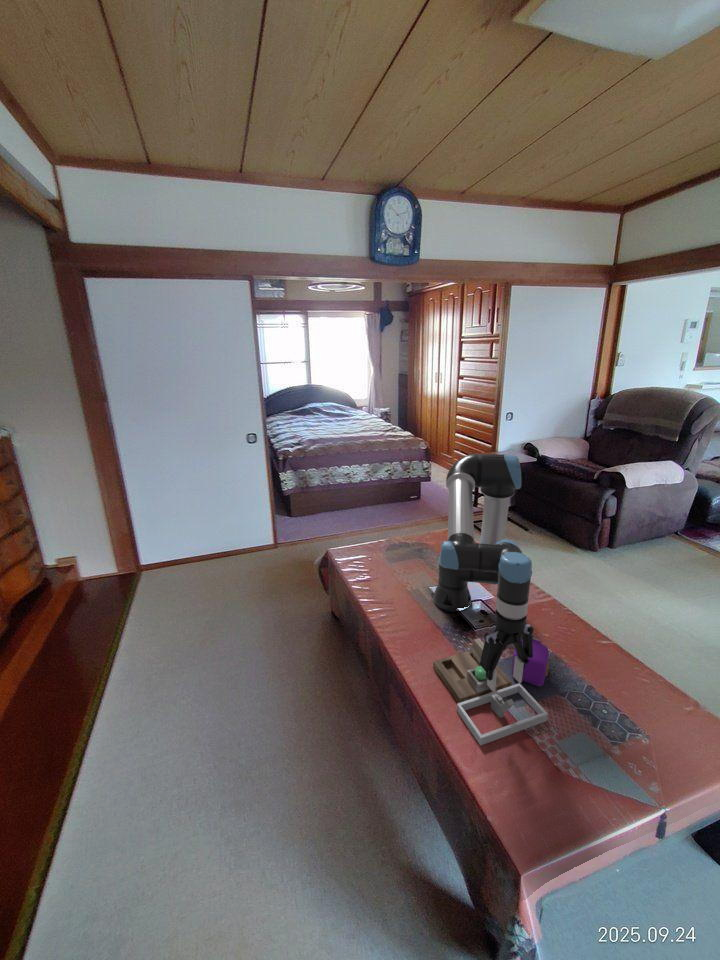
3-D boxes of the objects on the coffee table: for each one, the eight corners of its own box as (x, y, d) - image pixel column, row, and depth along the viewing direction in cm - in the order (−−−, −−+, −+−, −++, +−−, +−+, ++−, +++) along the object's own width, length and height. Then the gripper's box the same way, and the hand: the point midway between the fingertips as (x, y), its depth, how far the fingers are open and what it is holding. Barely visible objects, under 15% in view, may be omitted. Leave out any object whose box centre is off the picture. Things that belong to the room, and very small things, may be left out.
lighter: (490, 707, 118) (492, 685, 115) (494, 705, 118) (496, 683, 116) (507, 726, 111) (509, 704, 109) (512, 724, 112) (514, 701, 110)
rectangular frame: (518, 689, 123) (519, 683, 123) (547, 720, 113) (548, 713, 112) (456, 710, 117) (456, 703, 116) (480, 745, 106) (480, 738, 106)
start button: (482, 674, 125) (483, 664, 124) (489, 682, 122) (490, 673, 121) (472, 677, 124) (472, 667, 123) (479, 686, 121) (479, 676, 120)
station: (480, 653, 138) (481, 632, 136) (511, 688, 124) (513, 665, 121) (433, 667, 133) (433, 645, 130) (459, 705, 118) (461, 682, 116)
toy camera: (545, 659, 135) (549, 634, 132) (549, 691, 123) (553, 663, 120) (511, 652, 138) (513, 628, 135) (511, 682, 126) (514, 656, 123)
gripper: (533, 595, 111) (525, 664, 118) (468, 612, 105) (463, 683, 111) (554, 611, 104) (545, 683, 111) (485, 629, 98) (479, 704, 105)
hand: (504, 683), depth 111 cm, fingers open, 8 cm apart
